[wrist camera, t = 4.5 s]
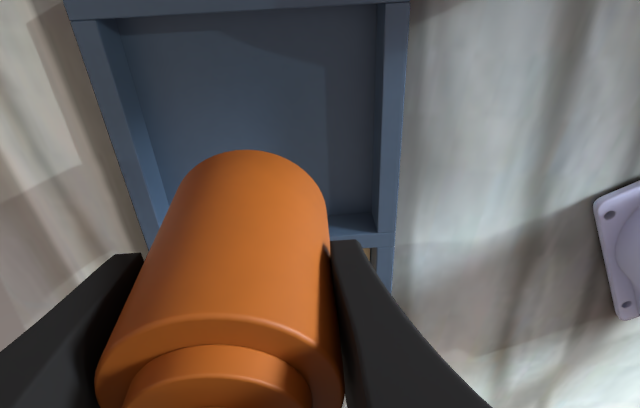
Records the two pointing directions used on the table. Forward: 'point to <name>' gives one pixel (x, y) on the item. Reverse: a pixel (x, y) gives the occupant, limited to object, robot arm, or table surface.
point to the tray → (255, 98)
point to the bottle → (231, 297)
